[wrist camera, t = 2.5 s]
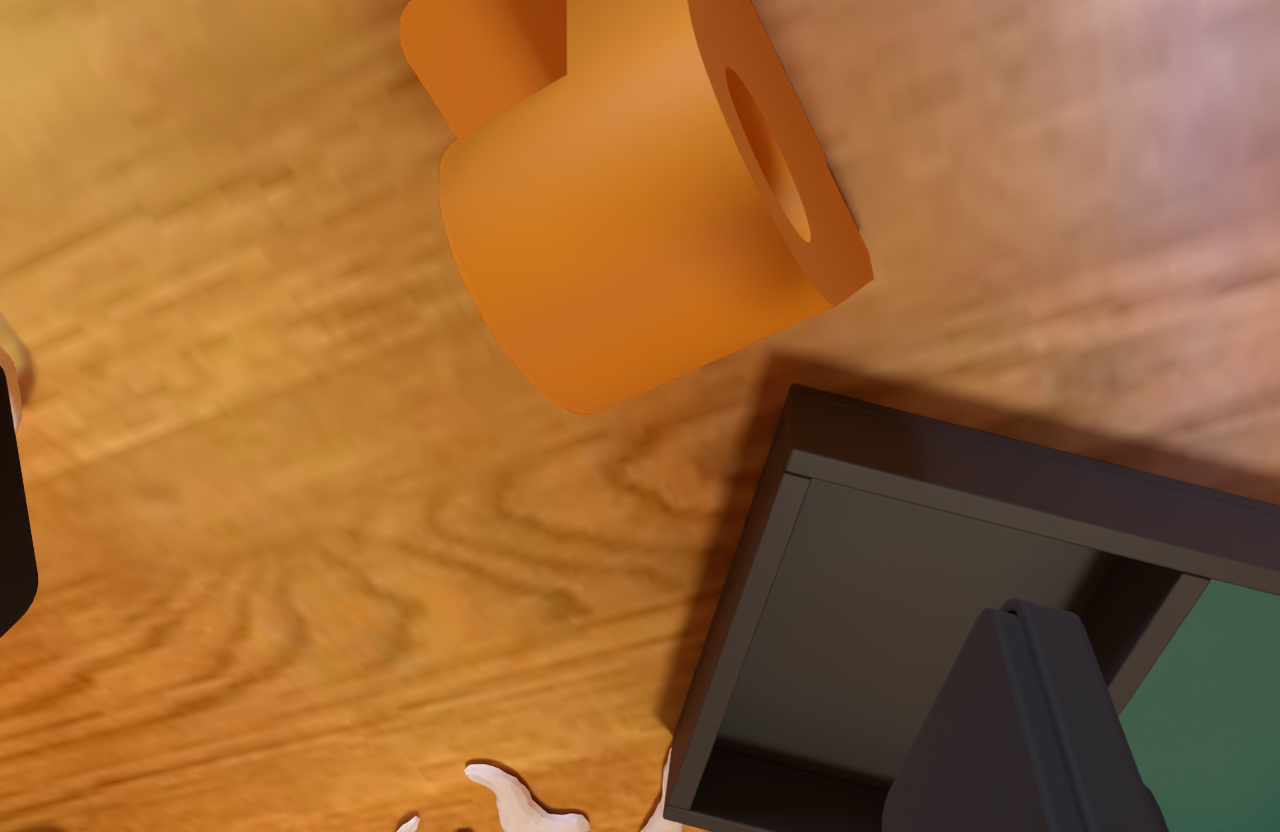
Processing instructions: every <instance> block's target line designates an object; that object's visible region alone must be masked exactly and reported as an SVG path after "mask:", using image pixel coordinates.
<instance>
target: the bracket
mask: <svg viewBox="0 0 1280 832" xmlns="http://www.w3.org/2000/svg"><path fill="white" fill-rule="evenodd" d="M399 38H400V43H401V47H402V50H403V53H404V55H405V57H406V59H407V60H408V62H409V64H410V65H411V67H412V68H413V70H414V71H415V73H416V74H417V76H418V78H419V79H420V81H421V82H422V84H423V85H424V87H425V89H426V90H427V92H428V93H429V95H430V96H431V98H432V100H433V101H434V103H435V104H436V106H437V107H438V109H439V111H440V112H441V114H442V115H443V117H444V118H445V120H446V121H447V123H448V125H449V126H450V128H451V129H452V131H453V132H454V134H455V136H456V137H457V139H458V140H457V141H456V142H454V143H453V144H452V145H450V146H449V147H448V149H447V150H446V152H445V153H444V155H443V158H442V160H441V165H440V170H439V198H440V206H441V212H442V217H443V222H444V226H445V230H446V233H447V237H448V241H449V244H450V246H451V249H452V252H453V255H454V258H455V261H456V263H457V266H458V268H459V271H460V273H461V276H462V278H463V280H464V282H465V284H466V287H467V289H468V291H469V293H470V295H471V297H472V299H473V301H474V303H475V305H476V307H477V309H478V310H479V312H480V314H481V316H482V317H483V319H484V321H485V322H486V324H487V326H488V327H489V329H490V331H491V332H492V334H493V335H494V337H495V338H496V340H497V341H498V343H499V344H500V346H501V347H502V348H503V350H504V351H505V352H506V354H507V355H508V357H509V358H510V359H511V360H512V362H513V363H514V364H515V365H516V367H517V368H518V369H519V370H520V371H521V372H522V373H523V375H524V376H525V377H526V378H527V379H528V380H529V381H530V382H531V383H532V384H533V385H534V386H535V387H536V388H537V389H538V390H539V391H540V392H542V393H543V394H544V395H545V396H546V397H548V398H549V399H550V400H552V401H553V402H554V403H556V404H557V405H559V406H561V407H562V408H564V409H566V410H568V411H570V412H573V413H576V414H580V415H593V414H596V413H599V412H601V411H604V410H606V409H608V408H610V407H612V406H615V405H617V404H619V403H621V402H624V401H626V400H628V399H630V398H633V397H635V396H637V395H639V394H641V393H644V392H646V391H648V390H650V389H653V388H655V387H657V386H659V385H661V384H664V383H666V382H668V381H670V380H673V379H675V378H677V377H679V376H682V375H684V374H686V373H688V372H690V371H693V370H695V369H697V368H699V367H702V366H704V365H706V364H708V363H710V362H713V361H715V360H717V359H719V358H722V357H724V356H726V355H728V354H731V353H733V352H735V351H737V350H739V349H742V348H744V347H746V346H748V345H751V344H753V343H755V342H757V341H760V340H762V339H764V338H766V337H768V336H771V335H773V334H775V333H777V332H780V331H782V330H784V329H786V328H788V327H791V326H793V325H795V324H797V323H800V322H802V321H804V320H806V319H809V318H811V317H813V316H815V315H817V314H820V313H822V312H824V311H826V310H829V309H831V308H833V307H835V306H837V305H839V304H840V303H841V302H843V301H844V300H845V299H847V298H848V297H850V296H851V295H852V294H854V293H855V292H857V291H858V290H859V289H861V288H862V287H863V286H865V285H866V284H868V283H869V282H870V281H872V280H873V279H874V277H873V271H872V266H871V261H870V256H869V252H868V250H867V247H866V245H865V243H864V241H863V239H862V237H861V235H860V233H859V231H858V229H857V227H856V225H855V223H854V221H853V219H852V216H851V214H850V212H849V210H848V208H847V206H846V204H845V202H844V200H843V198H842V196H841V194H840V192H839V190H838V188H837V185H836V183H835V181H834V179H833V177H832V175H831V173H830V171H829V169H828V167H827V165H826V158H825V154H824V152H823V150H822V148H821V146H820V144H819V141H818V139H817V137H816V135H815V133H814V131H813V129H812V127H811V125H810V123H809V121H808V119H807V117H806V115H805V112H804V110H803V108H802V106H801V104H800V102H799V100H798V98H797V96H796V94H795V92H794V90H793V88H792V85H791V83H790V81H789V79H788V77H787V75H786V73H785V71H784V69H783V67H782V65H781V63H780V61H779V59H778V56H777V54H776V52H775V50H774V48H773V46H772V44H771V42H770V40H769V38H768V36H767V34H766V32H765V29H764V27H763V25H762V23H761V21H760V19H759V17H758V15H757V13H756V11H755V9H754V7H753V5H752V3H751V0H411V1H410V2H409V3H408V4H407V5H406V7H405V9H404V11H403V13H402V16H401V19H400V25H399Z"/></svg>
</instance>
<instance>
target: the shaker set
mask: <svg viewBox="0 0 1280 832" xmlns="http://www.w3.org/2000/svg"><path fill="white" fill-rule="evenodd" d="M0 366H1V367H2V368H3V370H4V372H5V375H6V379H7V385H8V391H9V398H10V404H11V410H12V416H13V423H14V429H15V434H16V432H17V430H18V428H19V425H20V422H21V416H22V408H21V397H20V391H19V385H18V379H17V373H16V368H15V366H14V362H13V361H12V359H11V358H10V356H9V355H8V354H7V353H6V352H5V350H4V349H3V348H2V347H1V346H0Z"/></svg>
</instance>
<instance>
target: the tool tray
mask: <svg viewBox="0 0 1280 832" xmlns="http://www.w3.org/2000/svg"><path fill="white" fill-rule="evenodd" d="M1013 598H1017V599H1021V600H1025V601H1029V602H1033V603H1037V604H1041V605H1045V606H1049V607H1053V608H1057V609H1061V610H1065V611H1069V612H1073V613H1074V614H1076V615H1078V616H1079V618H1080V619H1081V621H1082V623H1083V625H1084V627H1085V630H1086V633H1087V635H1088V638H1089V641H1090V643H1091V646H1092V649H1093V651H1094V654H1095V657H1096V659H1097V662H1098V665H1099V667H1100V670H1101V673H1102V675H1103V678H1104V681H1105V683H1106V686H1107V688H1108V691H1109V694H1110V696H1111V699H1112V702H1113V704H1114V707H1115V710H1116V712H1117V715H1118V718H1119V720H1120V723H1121V726H1122V728H1123V731H1124V734H1125V736H1126V739H1127V742H1128V744H1129V747H1130V750H1131V752H1132V755H1133V758H1134V760H1135V763H1136V766H1137V768H1138V771H1139V774H1140V776H1141V779H1142V782H1143V784H1144V785H1146V786H1147V787H1148V788H1149V789H1150V790H1151V792H1152V794H1153V795H1154V797H1155V799H1156V801H1157V803H1158V805H1159V807H1160V809H1161V812H1162V814H1163V817H1164V819H1165V822H1166V825H1167V827H1168V830H1169V832H1280V506H1276V505H1273V504H1269V503H1265V502H1261V501H1257V500H1253V499H1249V498H1245V497H1241V496H1237V495H1233V494H1229V493H1225V492H1221V491H1217V490H1213V489H1209V488H1205V487H1201V486H1197V485H1193V484H1189V483H1185V482H1181V481H1177V480H1173V479H1169V478H1165V477H1161V476H1157V475H1153V474H1149V473H1145V472H1141V471H1137V470H1133V469H1129V468H1125V467H1121V466H1117V465H1113V464H1110V463H1106V462H1102V461H1098V460H1094V459H1090V458H1086V457H1082V456H1078V455H1074V454H1070V453H1066V452H1062V451H1058V450H1054V449H1050V448H1046V447H1042V446H1038V445H1034V444H1030V443H1026V442H1022V441H1018V440H1014V439H1010V438H1006V437H1002V436H998V435H994V434H990V433H986V432H982V431H978V430H974V429H970V428H966V427H962V426H958V425H954V424H950V423H947V422H943V421H939V420H935V419H931V418H927V417H923V416H919V415H915V414H911V413H907V412H903V411H899V410H895V409H891V408H887V407H883V406H879V405H875V404H871V403H867V402H863V401H859V400H855V399H851V398H847V397H843V396H839V395H835V394H831V393H827V392H823V391H819V390H815V389H811V388H807V387H803V386H799V385H795V384H792V385H791V387H790V390H789V393H788V396H787V399H786V402H785V405H784V408H783V411H782V414H781V417H780V420H779V423H778V426H777V429H776V432H775V435H774V438H773V441H772V444H771V447H770V450H769V453H768V456H767V459H766V462H765V465H764V468H763V471H762V474H761V477H760V480H759V483H758V486H757V489H756V492H755V495H754V498H753V501H752V504H751V507H750V510H749V513H748V516H747V519H746V522H745V525H744V528H743V531H742V534H741V537H740V540H739V543H738V546H737V549H736V551H735V554H734V557H733V560H732V563H731V566H730V569H729V572H728V575H727V578H726V581H725V584H724V587H723V590H722V593H721V596H720V599H719V602H718V605H717V608H716V611H715V614H714V617H713V620H712V623H711V626H710V629H709V632H708V635H707V638H706V641H705V644H704V647H703V650H702V653H701V656H700V659H699V662H698V665H697V668H696V671H695V674H694V677H693V680H692V683H691V686H690V689H689V692H688V695H687V698H686V701H685V704H684V707H683V710H682V713H681V715H680V718H679V721H678V724H677V727H676V730H675V733H674V736H673V741H672V750H671V757H670V764H669V772H668V779H667V787H666V794H665V802H664V809H663V819H665V820H669V821H673V822H677V823H681V824H685V825H688V826H692V827H696V828H700V829H704V830H708V831H712V832H882V815H883V809H884V804H885V801H886V797H887V795H888V792H889V790H890V788H891V786H892V784H893V782H894V780H895V778H896V776H897V774H898V772H899V770H900V768H901V766H902V764H903V763H904V761H905V759H906V757H907V755H908V753H909V751H910V749H911V747H912V745H913V743H914V741H915V739H916V737H917V735H918V733H919V731H920V729H921V727H922V725H923V723H924V721H925V719H926V717H927V715H928V713H929V712H930V710H931V708H932V706H933V704H934V702H935V700H936V698H937V696H938V694H939V692H940V690H941V688H942V686H943V684H944V682H945V680H946V678H947V676H948V674H949V672H950V670H951V668H952V666H953V664H954V662H955V661H956V659H957V657H958V655H959V653H960V651H961V649H962V647H963V645H964V643H965V641H966V639H967V637H968V635H969V633H970V631H971V629H972V627H973V625H974V623H975V621H976V619H977V618H978V616H979V615H980V613H981V612H982V611H983V610H984V609H987V608H991V609H995V610H1000V608H1001V607H1002V605H1003V604H1004V603H1005V602H1007V601H1008V600H1009V599H1013Z"/></svg>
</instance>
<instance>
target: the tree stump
mask: <svg viewBox="0 0 1280 832" xmlns="http://www.w3.org/2000/svg"><path fill="white" fill-rule="evenodd" d="M671 750H672V748H670V750H669V754H668V761H667V763H666V765H665V766H664V776H663V786H662V788H663V796H662V799H661V802H660V803H659V804H658V806H657V808H656V810H655V813H654V814H653V816H652V817H651V818H650V819H649V821H648V824H647V825H646V826H645V827H644V828H643V829H642V830H641V831H640V832H682V828H683V824H681V823H677V822H673V821H669V820H665V819H663V809H664V802H665V794H666V787H667V779H668V772H669V764H670V757H671ZM464 771H465V774H466V775H467V777H468V778H469V779H471V780H472V781H473V782H476V783H479V784H483V785H485V786H486V787H488V788H490V789H492V791H493V792H494V793H495V795H496V798H497V803H496V805H497V808H498V811H499V818H500V822H501V825H502V828H503V830H504V832H588V831H589V829H590V828H591V826H590V825H589V822H588V821H587V820H586V819H585V818H584V816H583V815H579V814H572V813H570V814H566V815H556V814H548V813H547V812H546V811H544V810H543V809H542V808H541V807H540V806H539V805H538V804H536V803H535V802H534V801H533V800H532V798H531V795H530V792H529V791H528V790H527V788H526V787H525V786H524V785H523V784H521V783H520V782H519V781H518V779H517V778H515V777H513V776H511V775H509V774H507V773H505V772H504V771H502V770H501V769H499V768H496V767H493V766H490V765H486V764H474V765H469V766H468V767H467V768H466V769H465V770H464ZM419 821H420V819H419V818H418V817H417V816H415V817H414V818H413V819H412V820H410V821H409V822H407V823H406V824H404V825H402V826H401V827H400V829H399V830H398V831H397V832H415V831H416V830H417V827H418V824H419Z"/></svg>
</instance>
